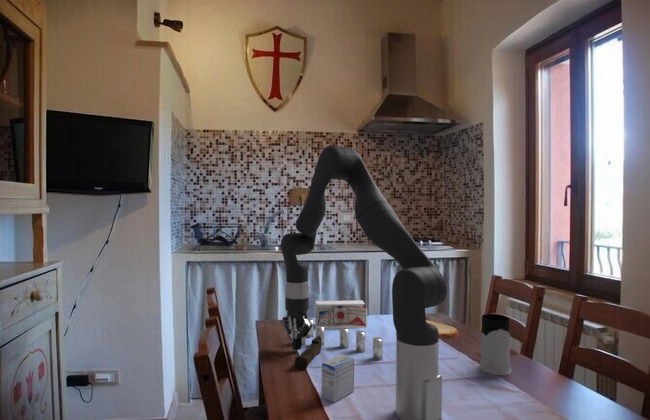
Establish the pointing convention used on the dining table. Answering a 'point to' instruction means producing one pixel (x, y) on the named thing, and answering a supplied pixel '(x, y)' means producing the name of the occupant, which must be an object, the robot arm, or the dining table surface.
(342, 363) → the medicine box
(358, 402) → the dining table surface
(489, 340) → the glass holder
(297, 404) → the dining table surface
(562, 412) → the dining table surface
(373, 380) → the dining table surface
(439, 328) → the bread slice
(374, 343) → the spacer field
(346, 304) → the white printed carton
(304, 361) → the dark brown rod
